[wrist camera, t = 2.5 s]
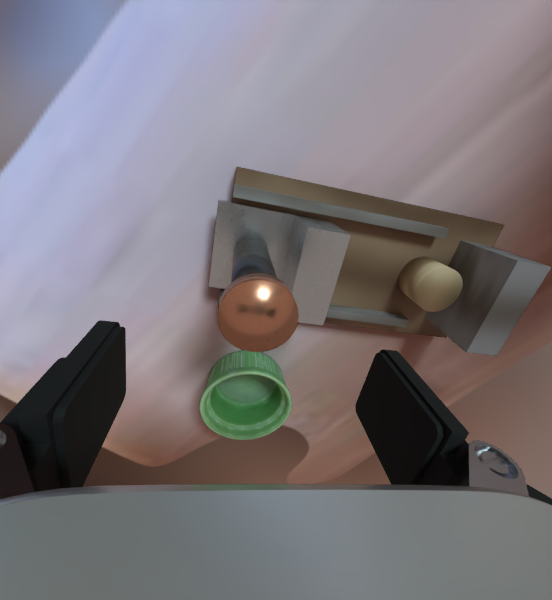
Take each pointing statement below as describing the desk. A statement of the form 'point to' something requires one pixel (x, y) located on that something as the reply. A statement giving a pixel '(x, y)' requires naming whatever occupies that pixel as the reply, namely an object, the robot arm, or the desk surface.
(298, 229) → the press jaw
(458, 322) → the press frame
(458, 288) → the beige rounded dome
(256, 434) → the ramekin
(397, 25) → the desk surface
